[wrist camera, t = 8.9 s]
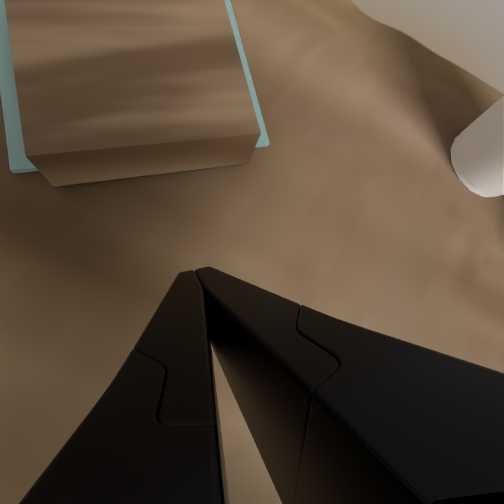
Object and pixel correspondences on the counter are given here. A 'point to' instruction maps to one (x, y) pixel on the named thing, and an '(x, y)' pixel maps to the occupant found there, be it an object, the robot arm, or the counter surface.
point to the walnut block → (128, 87)
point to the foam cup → (482, 153)
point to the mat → (4, 83)
